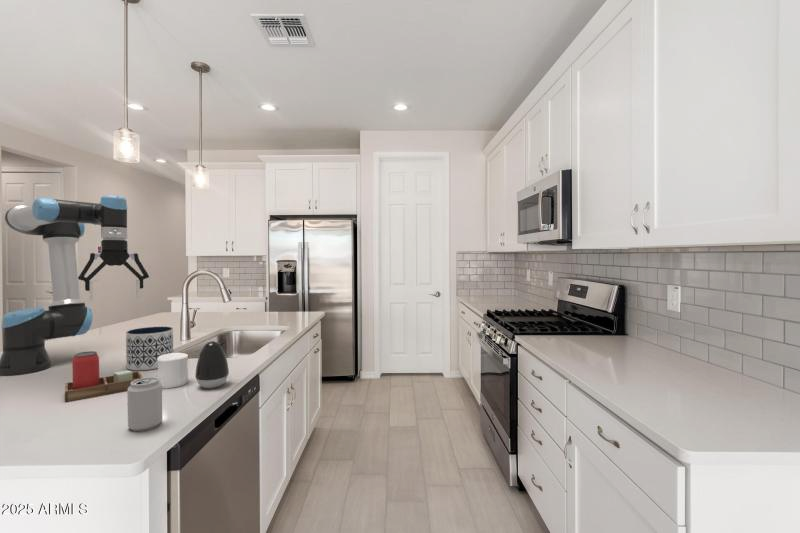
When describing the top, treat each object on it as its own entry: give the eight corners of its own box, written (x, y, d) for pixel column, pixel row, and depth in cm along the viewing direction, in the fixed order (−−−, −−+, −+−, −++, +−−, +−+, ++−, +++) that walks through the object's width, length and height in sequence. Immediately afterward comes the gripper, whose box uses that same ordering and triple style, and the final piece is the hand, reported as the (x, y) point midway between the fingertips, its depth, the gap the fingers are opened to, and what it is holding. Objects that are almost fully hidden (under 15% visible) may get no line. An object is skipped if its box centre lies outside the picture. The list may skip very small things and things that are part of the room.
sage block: (113, 384, 129) (113, 372, 128) (127, 381, 132) (127, 370, 132) (118, 387, 126) (118, 374, 126) (132, 383, 130) (132, 372, 129)
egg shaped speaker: (236, 383, 133) (235, 339, 133) (209, 393, 124) (209, 346, 123) (215, 379, 137) (214, 337, 137) (188, 388, 128) (188, 343, 128)
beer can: (84, 395, 119) (83, 356, 119) (67, 393, 120) (66, 355, 120) (104, 387, 125) (104, 351, 125) (88, 386, 127) (87, 350, 126)
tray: (65, 393, 123) (65, 383, 123) (139, 380, 136) (139, 371, 136) (65, 402, 116) (65, 391, 116) (143, 387, 129) (143, 378, 128)
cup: (165, 390, 126) (165, 361, 125) (150, 385, 131) (149, 357, 131) (194, 382, 134) (193, 355, 134) (178, 378, 139) (178, 351, 139)
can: (139, 420, 103) (138, 375, 103) (168, 419, 104) (167, 375, 103) (121, 433, 96) (120, 385, 95) (152, 432, 96) (152, 384, 96)
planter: (148, 359, 164) (148, 326, 164) (182, 360, 162) (181, 327, 162) (116, 370, 149) (115, 333, 148) (153, 372, 146) (152, 334, 146)
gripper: (68, 238, 126) (69, 302, 127) (157, 240, 142) (157, 297, 143) (68, 238, 132) (69, 300, 132) (153, 241, 148) (154, 295, 149)
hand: (115, 299), depth 138 cm, fingers open, 13 cm apart
